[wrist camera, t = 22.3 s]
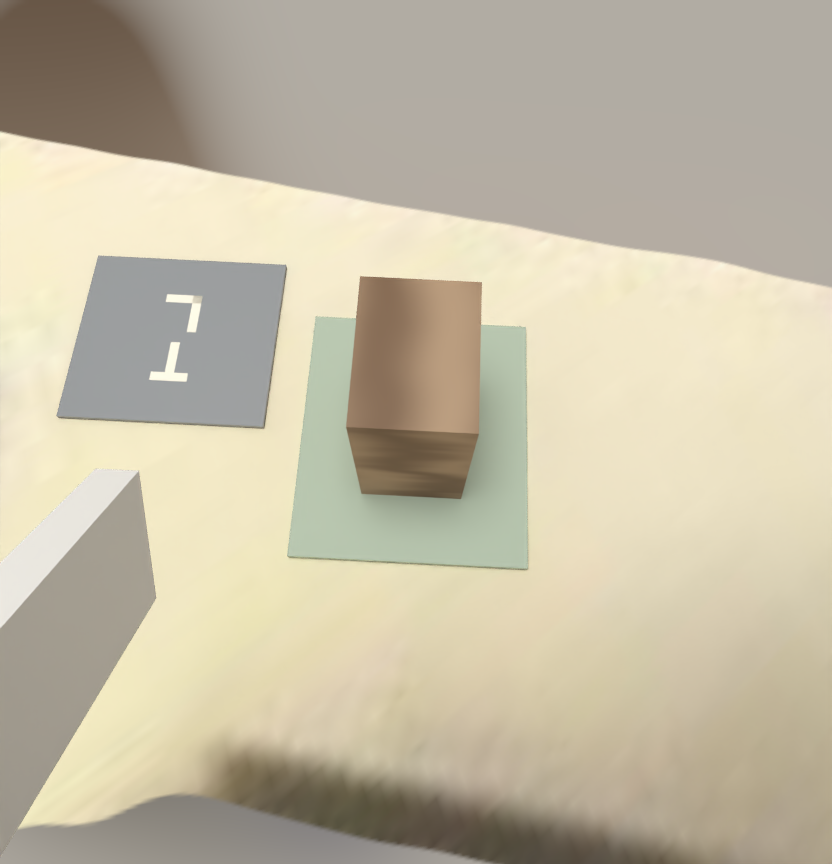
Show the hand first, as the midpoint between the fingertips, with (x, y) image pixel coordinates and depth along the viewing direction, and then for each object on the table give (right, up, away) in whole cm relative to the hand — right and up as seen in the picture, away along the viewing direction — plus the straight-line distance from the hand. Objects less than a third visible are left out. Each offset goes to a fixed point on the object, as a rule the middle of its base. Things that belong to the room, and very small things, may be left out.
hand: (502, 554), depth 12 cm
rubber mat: (-2, +2, +30) cm, 30 cm away
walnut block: (-2, +2, +30) cm, 30 cm away
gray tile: (-17, +8, +33) cm, 38 cm away
